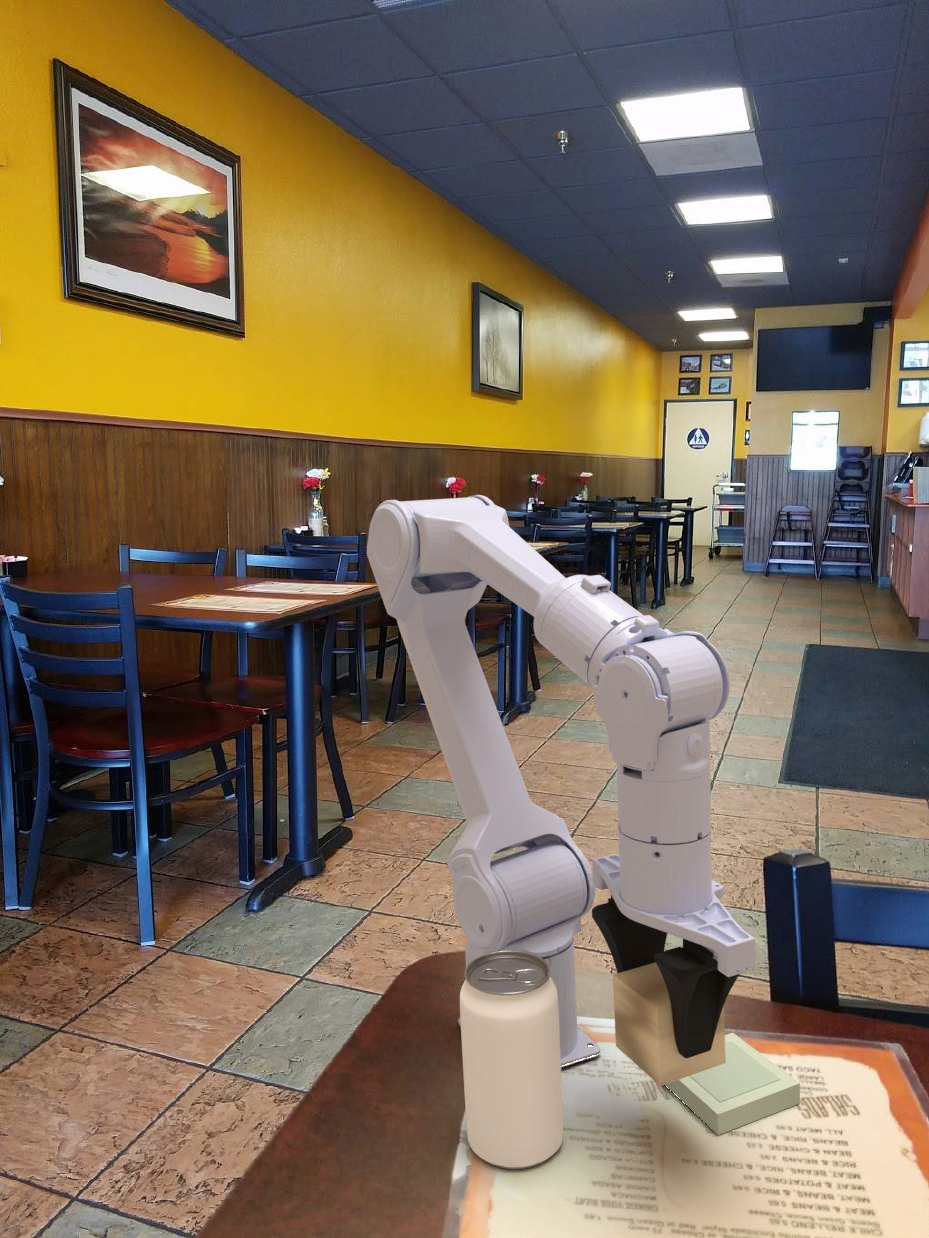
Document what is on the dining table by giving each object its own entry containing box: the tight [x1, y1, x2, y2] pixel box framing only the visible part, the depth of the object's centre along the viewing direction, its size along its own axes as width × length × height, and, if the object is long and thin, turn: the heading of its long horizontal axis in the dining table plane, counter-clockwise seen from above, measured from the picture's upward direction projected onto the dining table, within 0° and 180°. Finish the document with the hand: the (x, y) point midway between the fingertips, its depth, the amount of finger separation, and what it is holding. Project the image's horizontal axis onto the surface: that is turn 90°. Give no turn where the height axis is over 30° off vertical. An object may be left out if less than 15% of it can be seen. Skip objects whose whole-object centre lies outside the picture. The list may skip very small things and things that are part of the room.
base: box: [664, 1032, 801, 1136], centre depth 68 cm, size 7×7×2 cm
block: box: [612, 962, 726, 1087], centre depth 62 cm, size 5×5×5 cm
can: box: [459, 950, 564, 1171], centre depth 63 cm, size 6×6×12 cm
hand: (668, 1028), depth 62 cm, fingers closed on block, 5 cm apart
